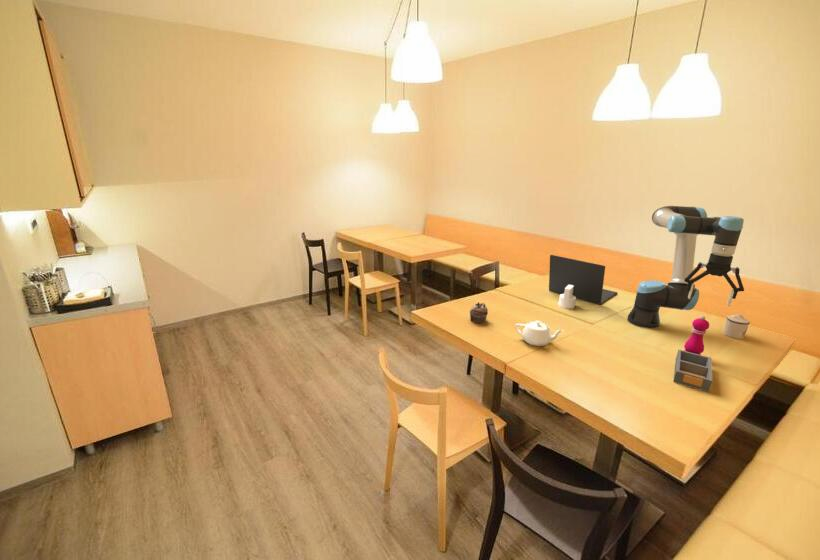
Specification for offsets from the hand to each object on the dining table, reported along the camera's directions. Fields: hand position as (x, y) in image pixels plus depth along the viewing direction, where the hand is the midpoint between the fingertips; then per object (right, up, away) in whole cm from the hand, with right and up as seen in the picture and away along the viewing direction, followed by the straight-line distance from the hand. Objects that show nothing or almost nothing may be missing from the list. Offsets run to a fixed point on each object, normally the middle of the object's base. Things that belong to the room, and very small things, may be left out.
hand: (708, 301), depth 163 cm
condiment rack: (-12, -30, -6) cm, 33 cm away
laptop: (-17, 0, +85) cm, 86 cm away
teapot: (-68, -21, +19) cm, 74 cm away
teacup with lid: (+37, -19, +31) cm, 52 cm away
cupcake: (-92, -13, +42) cm, 102 cm away
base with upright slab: (-35, -6, +64) cm, 73 cm away
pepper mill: (-1, -26, +9) cm, 27 cm away
